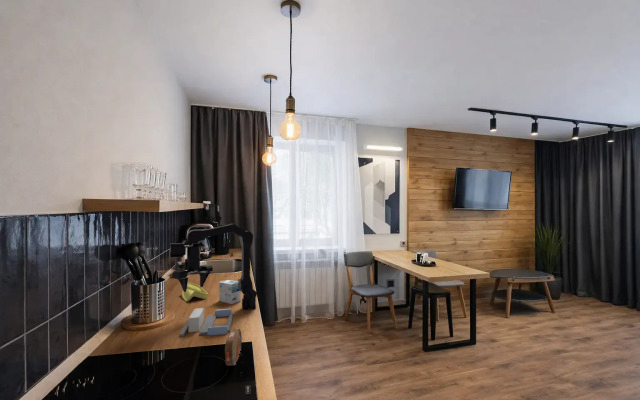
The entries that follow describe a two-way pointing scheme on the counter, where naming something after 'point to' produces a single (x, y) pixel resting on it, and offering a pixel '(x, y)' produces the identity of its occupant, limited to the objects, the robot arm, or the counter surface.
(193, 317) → the white rectangular prism
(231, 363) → the tin
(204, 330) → the grey long bars
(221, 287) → the light bulb box
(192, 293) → the plastic component
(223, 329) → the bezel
